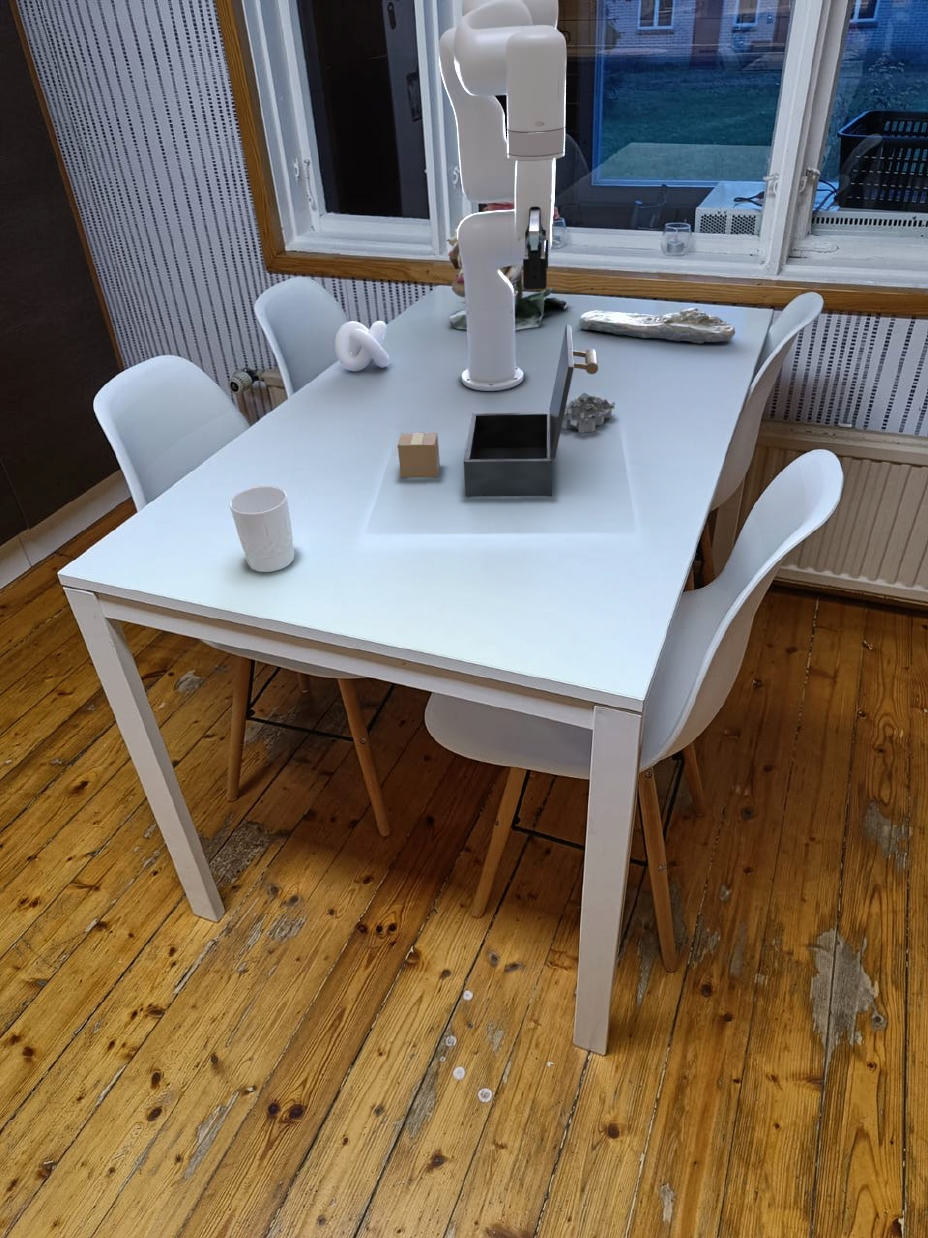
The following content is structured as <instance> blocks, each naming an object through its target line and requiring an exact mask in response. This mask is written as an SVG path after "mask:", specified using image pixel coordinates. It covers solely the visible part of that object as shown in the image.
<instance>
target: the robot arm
mask: <svg viewBox="0 0 928 1238" xmlns="http://www.w3.org/2000/svg"><path fill="white" fill-rule="evenodd" d="M461 15H462V16H461V18H460V19H459V21H458V23H457V26H453V27H451V28H449V29H447V30H446V31H445V32H443V34H441V36H440V39H439V42H438V62H439V63H438V64H439V69H440V75H441V78H442V82H443V86H444V88H445V90H446V93H447V96H448V99H449V101H450V105H451V106H452V109H453V113H454V116H455V122H456V133H457V146H458V161H459V171H460V172H459V173H460V183H461V190H462V192H463V195H464V197H465V199H466V200H467V201H468V202H470V203H472V204H481V205H482V204H486V203H499V202H510V201H515V210H501V211H490V212H483V211H480V212H481V213H479V212H476V214H475V213H471V214H472V215H471V214H469V215H470V216H469V215H467V216H468V217H467V216H465V217H466V218H465V219H463V218H462V219H463V220H462V219H461V220H462V222H461V223H460V225H459V226H458V227H457V229H458V232H457V239H458V247H459V252H460V257H461V262H462V268H463V275H464V286H465V297H464V299H465V310H466V321H467V329H466V337H467V339H466V340H467V360H468V368H467V369H465V370H464V371H463V372H462V374H461V382H462V384H463V385H464V386H465V387H467V388H470V389H472V390H476V391H484V392H495V391H497V392H498V391H503V390H504V391H505V390H508V389H512V388H514V387H516V386H518V385H519V384H521V383H522V382H523V380H524V372H523V370H522V369H521V368H520V367H519V366H517V365H516V363H517V362H516V330H515V299H514V289H513V287H512V284H511V283H510V281H509V280H508V279H507V278H506V277H505V276H504V274H503V273H502V272H501V271H500V268H502V267H508V266H515V265H522V270H523V271H522V277H523V290H545V289H547V285H548V284H547V281H548V275H547V274H548V273H547V272H548V268H549V257H550V255H551V250H552V246H553V244H552V240H553V231H552V230H553V229H552V228H553V222H552V220H553V211H554V207H555V195H556V194H555V191H556V190H555V189H556V160H557V159H560V158H563V157H564V156H565V154H566V153H565V152H566V151H565V150H566V149H565V147H566V146H565V145H566V143H565V142H566V95H567V93H566V90H567V89H566V88H567V87H566V85H567V62H568V61H567V60H568V59H567V58H568V57H567V55H568V54H567V40H566V37H565V35H564V34H563V33H562V32H560V31H559V30H558V29H557V26H558V21H559V0H462V4H461ZM496 96H506V116H505V112H504V111H505V110H504V109H503V106H502V105H501V103H500V102H499V100H498V99H497V97H496ZM505 117H506V118H505ZM505 119H506V122H507V123H506V122H505ZM506 125H507V126H506ZM506 129H507V131H506ZM506 132H507V134H506ZM506 135H507V136H506Z"/></svg>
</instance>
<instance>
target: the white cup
mask: <svg viewBox="0 0 928 1238" xmlns="http://www.w3.org/2000/svg"><path fill="white" fill-rule="evenodd" d="M229 500H230V501H229V504H228V505H229V509H230V512H231V515H232V519H233V522H234V525H235V528H236V532H237V535H238V539H239V541H240V545H241V547H242V548H241V549H242V550H243V551H244V555H245V560H246V562H247V565H248V566H249V567H250V569H251V570H254V571H257V572H258V573H270V572H271V573H272V572H276V571H280V570H282V569H285V568H286V567H288V566H290V564H292V562H294V558H295V549H294V548H295V547H294V543H293V541H294V539H293V538H294V537H293V530H292V523H291V515H290V510H289V509H290V508H289V502H288V495H287V493H286V492H285V490H284V489H282V488H280V487H277V486H271V485H260V486H254V487H250V488H247V489H243V490H242V491H239V492H238V493H236V494H235V495H234V496H232V497H231V499H229Z"/></svg>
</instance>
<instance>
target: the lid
mask: <svg viewBox="0 0 928 1238" xmlns="http://www.w3.org/2000/svg"><path fill="white" fill-rule="evenodd" d="M564 328H565V329H564V332H563V338H562V344H561V349H560V354H559V357H558V358H559V359H558V364H557V369H556V373H555V379H554V383H553V389H552V394H551V395H552V396H551V399H550V404H549V412H550V458H552V459H556V455H557V450H558V447H559V442H560V436H561V433H562V432H561V431H562V422H563V418H564V413H565V408H566V405H567V403H568V397H569V393H570V389H571V383H572V379H573V374H574V369H580V370H585V371H586V373H587V374H588V375H595V374H596V373H597V372H598V371H599V364H598V357H597V352H596V350H595V349H594V348H588V349H586V350H585V351H582V350H578V349H577V350H576V349H573V337H572V336H573V335H572V326H571V324H565V327H564ZM574 357H580V358H584V362H580V361H579V362H578V361H574Z"/></svg>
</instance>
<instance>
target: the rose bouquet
mask: <svg viewBox="0 0 928 1238" xmlns="http://www.w3.org/2000/svg"><path fill="white" fill-rule="evenodd" d="M485 205H486V206H485V207H484V208H483V209H482V211H480V212H478V213H481V212H490V211H501V210H515V201H510V202H499V203H485ZM476 213H477V212H476ZM476 213H474V214H476ZM472 214H473V213H471V214H469V215H466V216H464V217H463V218H461V220H459V221H458V222H457V226H458V227H459V225H460V223H461V222H462V220H463V219H465V218H466V217H468V216H470V215H472ZM558 218H560V214H559V211H558V208H557V206H554V211H553V220H552V223H553V222H554V221H555V220H557V219H558ZM457 232H458V228H455V229H454V233H455V234H454V236H453V237H451V238H448V239H447V238H446V242H448V244H449V246H451V247H452V248H451V249H450V251H449V252H448V253H447V254H448V257H449V258H448V260H449V262H451V264H452V265H453V268H454V269H455V270H456V271H459V273H457V274H456V273H455V274H452V277H454V276H456V277H455V278H454V279H453V281H452V284H451V290H452V292H453V293H454V294H455V295H456V296H458V297H461V298H465V286H464V275H463V268H462V262H461V257H460V252H459V247H458V239H457ZM552 245H555V246H556V245H557V246H558V245H560V241H558V240H555V239H552ZM522 267H523V265H515V266H508V267H502V268H500V271H501V272H502V273H503V274H504V276H505V277H506V278H507V279H508V280H509V281H510V283H511V284H512V287H513V289H514V299H515V331H518V330H523V329H533V328H539V327H541V321H542V318H544V317H546V316H547V315H546V313H545V312H544V310H545V306H546V307H547V306H558V307H563V309H564V310H565V309H567V308H569V307H568V306H567V305H568V304H567V301H565V300H561V299H558V298H556V297H554V296H553V297H549V296H550V295H551V292H552V290H554V287H549V288H546V290H545V289H544V290H542V291H539V292H534V293H532V294H528V295H524V293H523V291H524V287H523V271H522V270H523V269H522ZM516 288H517V290H516ZM448 318H449V320H450V323H451V325H452V327H453V328H454V329H459V330H467V321H466V309H463V310H459V311H458V312H456V313H454V314H453V315H450V316H448Z"/></svg>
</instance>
